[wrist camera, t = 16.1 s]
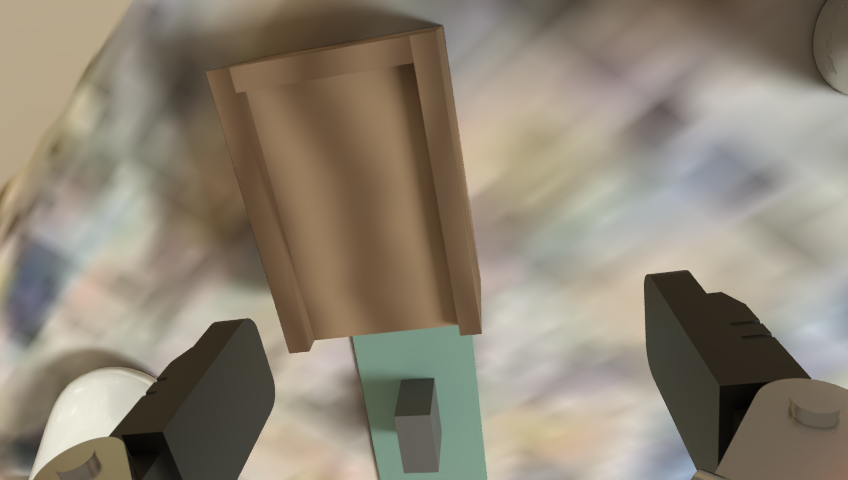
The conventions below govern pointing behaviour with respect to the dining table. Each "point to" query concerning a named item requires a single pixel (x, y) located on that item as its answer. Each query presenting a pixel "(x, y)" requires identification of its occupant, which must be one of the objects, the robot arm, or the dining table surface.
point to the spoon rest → (90, 409)
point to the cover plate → (451, 396)
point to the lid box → (355, 186)
